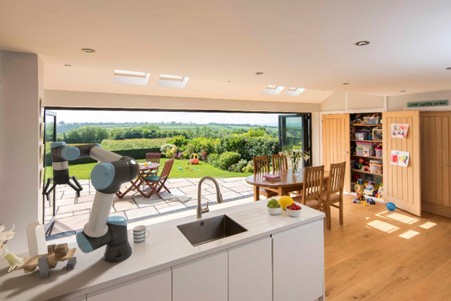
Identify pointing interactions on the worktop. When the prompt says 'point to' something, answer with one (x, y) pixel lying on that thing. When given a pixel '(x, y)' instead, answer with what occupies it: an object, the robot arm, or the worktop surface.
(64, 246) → the block
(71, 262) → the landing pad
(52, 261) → the tan piece
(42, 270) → the fulcrum
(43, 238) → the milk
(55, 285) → the worktop surface
